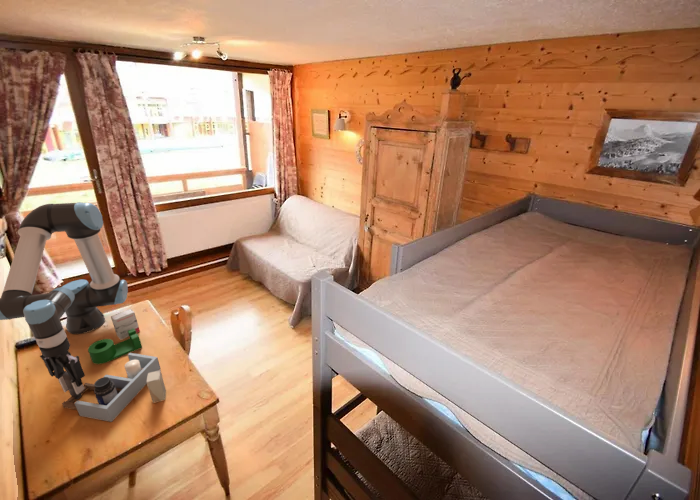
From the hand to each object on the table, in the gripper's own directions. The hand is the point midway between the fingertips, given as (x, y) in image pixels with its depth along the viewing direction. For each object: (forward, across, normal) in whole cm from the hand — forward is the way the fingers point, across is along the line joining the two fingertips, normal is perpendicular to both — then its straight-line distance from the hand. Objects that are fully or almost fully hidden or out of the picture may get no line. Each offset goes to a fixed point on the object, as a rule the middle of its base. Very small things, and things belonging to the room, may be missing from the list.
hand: (74, 390), depth 122 cm
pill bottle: (+4, +14, 0) cm, 15 cm away
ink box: (+4, -9, +36) cm, 37 cm away
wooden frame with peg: (+3, +9, 0) cm, 9 cm away
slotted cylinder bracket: (+4, -5, +24) cm, 25 cm away
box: (+4, +30, +6) cm, 31 cm away
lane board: (+4, +14, +6) cm, 16 cm away
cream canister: (+4, +15, +12) cm, 20 cm away
